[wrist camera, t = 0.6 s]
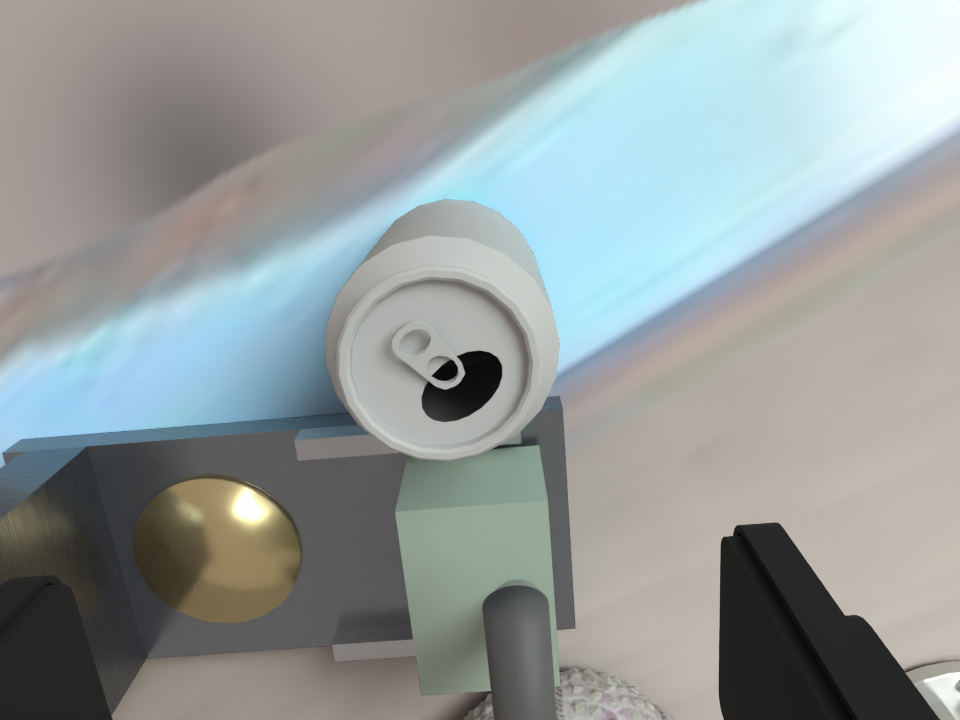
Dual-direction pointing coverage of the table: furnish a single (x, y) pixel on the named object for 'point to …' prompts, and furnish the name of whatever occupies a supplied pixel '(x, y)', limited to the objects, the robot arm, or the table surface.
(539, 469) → the grey-green handled block
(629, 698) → the sea urchin shell
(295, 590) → the base
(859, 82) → the table surface
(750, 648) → the robot arm
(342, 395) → the can
